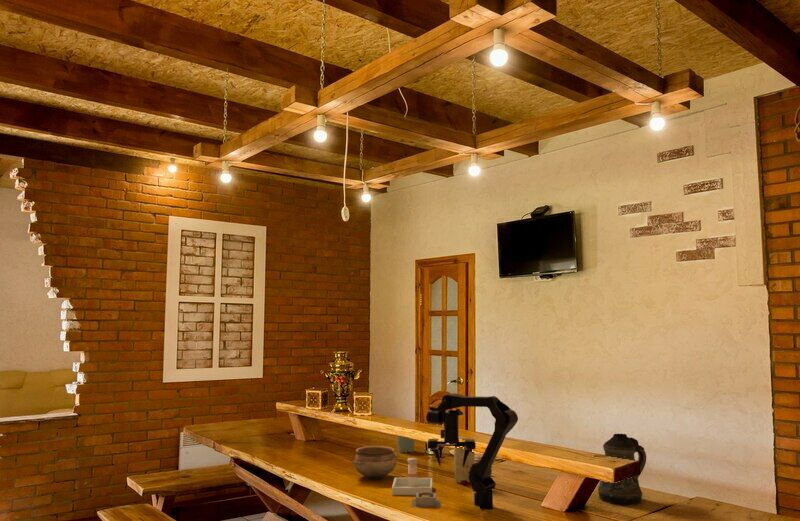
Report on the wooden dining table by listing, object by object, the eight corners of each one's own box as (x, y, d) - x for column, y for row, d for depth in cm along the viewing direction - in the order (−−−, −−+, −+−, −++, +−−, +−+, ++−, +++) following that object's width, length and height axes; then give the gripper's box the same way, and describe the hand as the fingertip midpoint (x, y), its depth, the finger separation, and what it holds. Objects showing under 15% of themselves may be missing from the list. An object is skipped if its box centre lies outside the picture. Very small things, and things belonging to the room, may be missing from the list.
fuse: (419, 489, 257) (419, 458, 258) (413, 492, 254) (413, 460, 255) (411, 487, 260) (411, 457, 261) (405, 490, 256) (405, 459, 257)
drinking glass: (394, 450, 339) (394, 428, 340) (410, 448, 343) (410, 426, 344) (402, 454, 330) (402, 431, 331) (419, 452, 334) (419, 429, 335)
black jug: (590, 499, 245) (588, 434, 248) (613, 490, 259) (611, 428, 261) (630, 508, 234) (628, 440, 236) (653, 498, 247) (650, 433, 250)
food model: (451, 483, 270) (450, 436, 272) (458, 480, 276) (458, 434, 278) (471, 486, 265) (470, 438, 267) (478, 483, 270) (477, 436, 272)
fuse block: (440, 502, 242) (440, 490, 242) (440, 510, 232) (440, 497, 233) (412, 501, 243) (412, 489, 243) (411, 509, 233) (411, 496, 233)
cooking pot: (365, 486, 266) (365, 457, 267) (340, 478, 280) (340, 450, 281) (409, 477, 282) (409, 449, 283) (383, 469, 296) (383, 443, 297)
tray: (432, 487, 264) (432, 477, 265) (431, 497, 248) (431, 488, 249) (394, 486, 265) (394, 477, 266) (391, 497, 249) (391, 487, 250)
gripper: (473, 422, 255) (474, 462, 253) (428, 422, 256) (428, 461, 255) (475, 427, 244) (475, 468, 242) (427, 427, 245) (427, 467, 244)
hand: (451, 466), depth 246 cm, fingers open, 9 cm apart
